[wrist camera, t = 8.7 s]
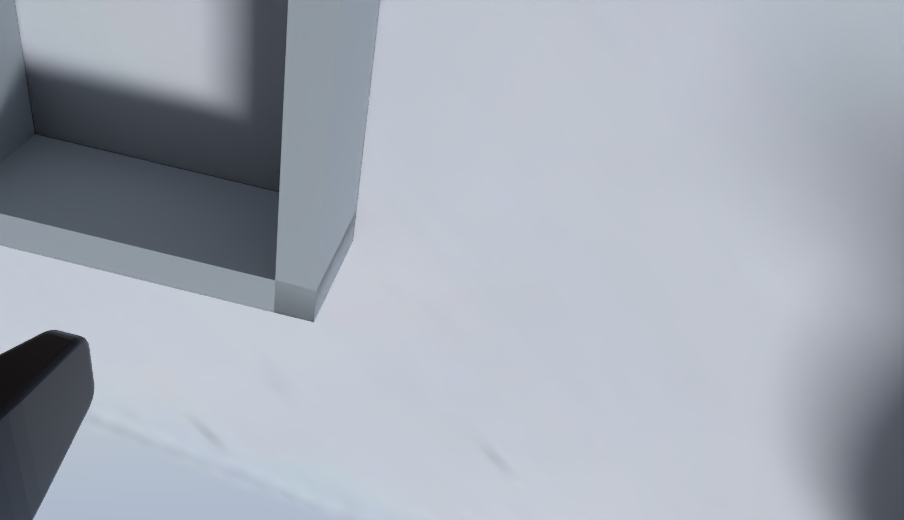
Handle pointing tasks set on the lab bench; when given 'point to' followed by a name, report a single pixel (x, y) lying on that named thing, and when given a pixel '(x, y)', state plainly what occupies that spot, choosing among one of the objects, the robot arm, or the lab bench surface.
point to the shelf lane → (205, 181)
